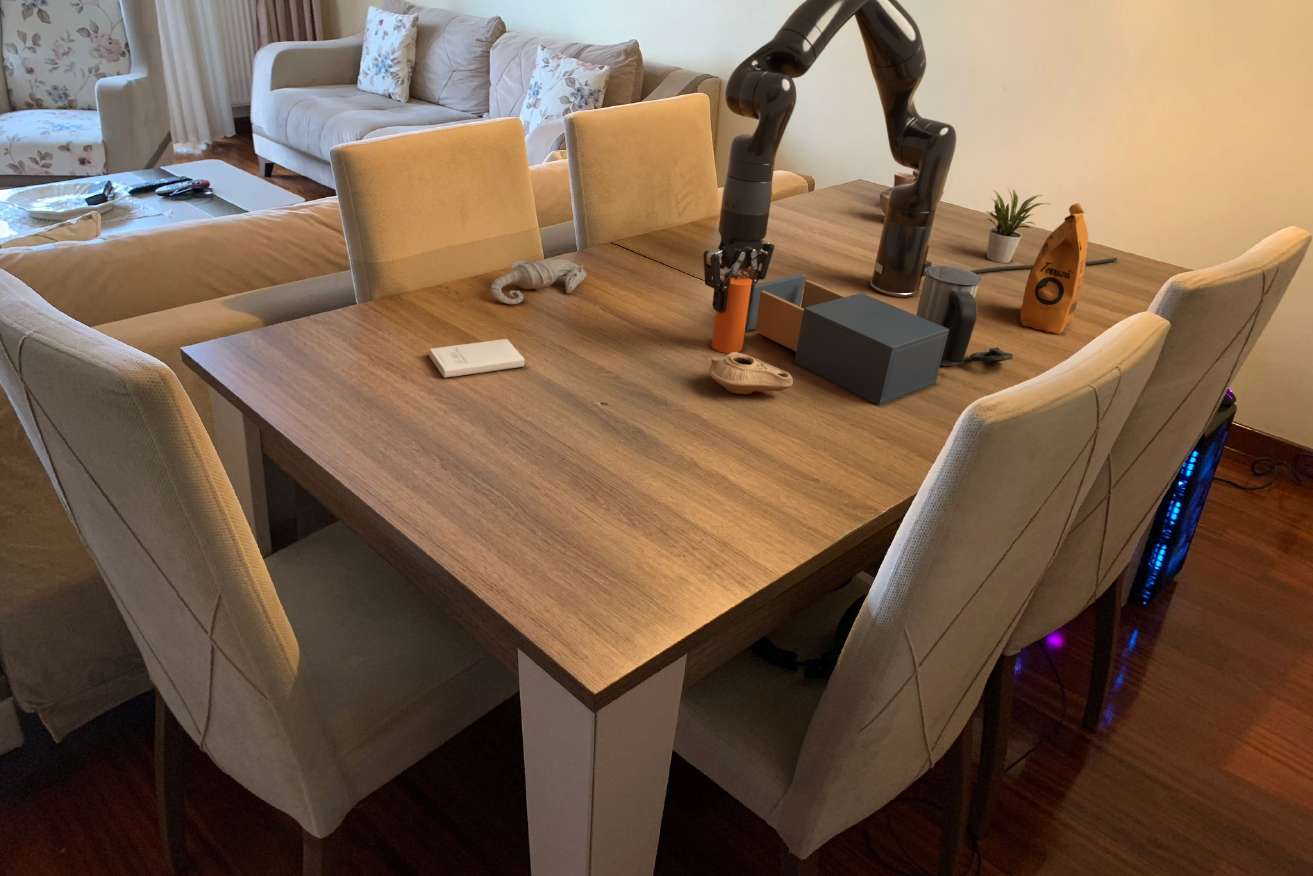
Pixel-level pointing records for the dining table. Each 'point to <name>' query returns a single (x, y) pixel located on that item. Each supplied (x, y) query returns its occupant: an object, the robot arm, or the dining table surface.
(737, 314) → the candle
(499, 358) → the hard drive
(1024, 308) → the coffee package
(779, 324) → the drawer
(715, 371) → the pottery oil lamp
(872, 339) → the cabinet
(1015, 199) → the house plant
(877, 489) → the dining table surface
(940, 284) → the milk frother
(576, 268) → the seahorse
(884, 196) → the pottery
